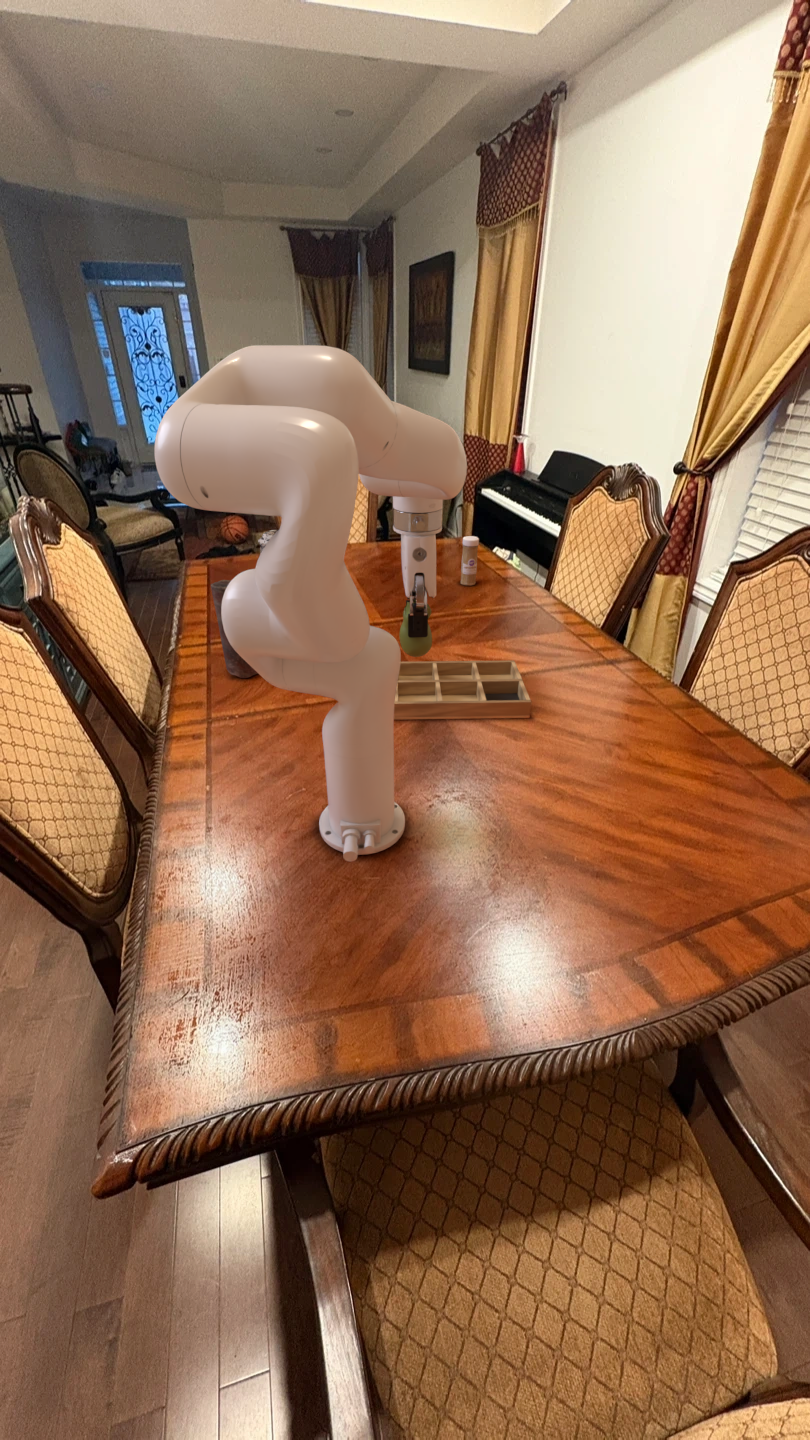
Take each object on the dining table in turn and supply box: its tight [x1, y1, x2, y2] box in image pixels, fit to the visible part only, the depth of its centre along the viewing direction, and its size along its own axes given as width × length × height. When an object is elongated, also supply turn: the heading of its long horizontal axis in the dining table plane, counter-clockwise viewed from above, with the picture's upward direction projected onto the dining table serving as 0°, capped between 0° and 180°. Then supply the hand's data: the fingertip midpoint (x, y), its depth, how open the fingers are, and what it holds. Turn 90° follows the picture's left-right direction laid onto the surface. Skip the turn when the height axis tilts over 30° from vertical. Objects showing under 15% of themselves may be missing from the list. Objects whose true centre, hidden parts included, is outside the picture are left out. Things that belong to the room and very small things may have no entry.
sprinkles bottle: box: [459, 535, 480, 587], centre depth 175 cm, size 5×5×14 cm
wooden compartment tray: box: [394, 659, 532, 721], centre depth 121 cm, size 17×26×4 cm
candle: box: [210, 579, 258, 679], centre depth 126 cm, size 8×7×20 cm
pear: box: [398, 600, 433, 658], centre depth 102 cm, size 6×5×10 cm
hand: (416, 628), depth 102 cm, fingers closed on pear, 5 cm apart
